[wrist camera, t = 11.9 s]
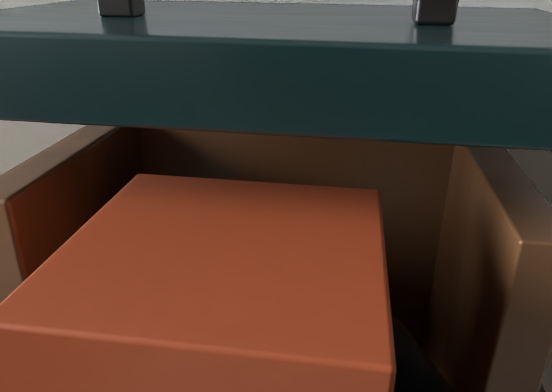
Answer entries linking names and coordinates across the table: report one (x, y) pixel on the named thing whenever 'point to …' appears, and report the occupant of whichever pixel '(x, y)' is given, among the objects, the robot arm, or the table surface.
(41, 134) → the table surface
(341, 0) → the table surface
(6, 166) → the table surface
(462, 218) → the drawer
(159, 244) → the block
